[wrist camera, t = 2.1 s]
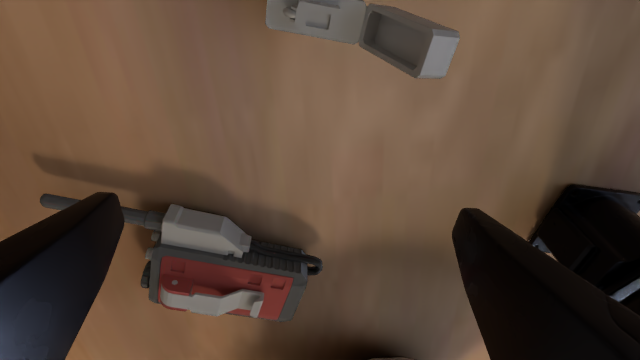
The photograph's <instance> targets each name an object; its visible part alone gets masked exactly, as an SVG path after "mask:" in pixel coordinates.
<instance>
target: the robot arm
mask: <svg viewBox="0 0 640 360" xmlns="http://www.w3.org/2000/svg"><path fill="white" fill-rule="evenodd" d="M639 211H640V193H636V192H629V191H621V190H613V189H606V188H598V187H590V186H583V185H570V186H568V187H567V188H566V189H565V190H564V192H563V193H562V195H561V196H560V198H559V199H558V201H557V202H556V203H555V205H554V206H553V208H552V209H551V211H550V212H549V214H548V215H547V216H546V218H545V219H544V221H543V222H542V224H541V225H540V227H539V228H538V229H537V231H536V232H535V234H534V235H533V237H532V238H531V240H530V241H529V242H528V241H526V240H525V239H523V238H522V237H520V236H519V235H517V234H516V233H514V232H513V231H511V230H510V229H508V228H507V227H505V226H504V225H502V224H501V223H499V222H498V221H496V220H495V219H493V218H492V217H490V216H489V215H487V214H486V213H484V212H483V211H481V210H480V209H477V208H463V209H462V210H461V211H460V213H459V215H458V218H457V220H456V223H455V225H454V228H453V231H452V239H453V244H454V248H455V252H456V256H457V260H458V264H459V268H460V272H461V276H462V280H463V284H464V288H465V291H466V294H467V297H468V299H469V302H470V305H471V307H472V310H473V313H474V316H475V318H476V321H477V324H478V326H479V329H480V332H481V335H482V337H483V340H484V343H485V345H486V348H487V351H488V354H489V356H490V359H491V360H640V217H639V216H638V215H637V213H638V212H639ZM124 222H125V220H124V215H123V212H122V208H121V205H120V202H119V199H118V196H117V195H116V194H115V193H110V192H97V193H95V194H93V195H91V196H89V197H87V198H85V199H83V200H81V201H79V202H77V203H75V204H73V205H71V206H69V207H67V208H65V209H63V210H61V211H59V212H57V213H56V214H54V215H52V216H50V217H48V218H46V219H44V220H42V221H40V222H38V223H36V224H34V225H32V226H30V227H28V228H26V229H24V230H22V231H20V232H18V233H16V234H14V235H12V236H10V237H8V238H7V239H5V240H3V241H1V242H0V360H65V358H66V356H67V354H68V352H69V350H70V348H71V346H72V344H73V342H74V340H75V338H76V336H77V334H78V332H79V330H80V328H81V326H82V324H83V322H84V320H85V318H86V316H87V314H88V312H89V310H90V308H91V306H92V304H93V302H94V300H95V298H96V296H97V294H98V292H99V290H100V288H101V286H102V284H103V281H104V279H105V277H106V274H107V272H108V269H109V266H110V264H111V261H112V258H113V255H114V253H115V250H116V247H117V244H118V241H119V239H120V236H121V233H122V230H123V227H124ZM544 252H546V253H552V255H553V256H554V257H555V258H556V260H557V261H556V260H555V259H553V258H552V257H550V256H549V255H547V254H546V253H544Z"/></svg>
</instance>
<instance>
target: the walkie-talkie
mask: <svg viewBox="0 0 640 360" xmlns="http://www.w3.org/2000/svg"><path fill="white" fill-rule="evenodd" d="M79 201H81V200H77V199H72V198H67V197H61V196H56V195H51V194H43V195H42V196H41V198H40V203H41V204H42V206H44V207H46V208H52V209H57V210H63V209H65V208H67V207H69V206H71V205H73V204H75V203H77V202H79ZM121 208H122V212H123V215H124V220H125V222H126V223H131V224H136V225H142V226H144V227H145V228H146V229H151V230H154V231H153V234H152V237H151V240H152V241H156V244H155V246H154V248H148V249H147V252H146V256H145V259H150V260H151V261H149V262H148V263H147V264H146V266H145V269H144V271H143V275H142V279H141V286H142V288H148V287H149V300H151V301H152V302H154V303H157V304H162V305H163V306H164V307H165V308H168V309H171V310H179V311H187V309H188V310H191V312H192V313H199V314H205V315H212V316H219V315H221V314H224V313H226V314H233V315H239V316H246V317H253V318H259V319H266V320H272V321H279V322H284V321H291V320H292V318H293V316H294V313H295V311H296V309H297V307H298V304H299V302H300V300H301V298H302V295H303V293H304V291H305V288H306V285H307V275H317V274H319V273H320V272H321V271H322V268H323V266H322V261H321V260H320V259H319V258H317V257H315V256H311V255H306V254H305V253H304V252H303V251H302V249H296V248H290V247H285V246H280V245H276V244H270V243H265V242H259V241H255V240H251V237H252V236H249V235H247V234H246V233H245V232H244V231H242V230H241V229H240V228H239V227H238V226H237V225H235V224H234V223H233V222H232V221H231V220H230V219H228V218H227V217H225V216H220V215H215V214H210V213H205V212H200V211H196V210H191V209H186V208H183V207H182V206H179V205H174V204H171V205H170V207H169V209H168V211H167V213H162V212H157V211H151V210H150V211H148V212H147V211H142V210H137V209H132V208H127V207H122V206H121ZM307 263H308V264H313V265H315V267H308V266H307Z"/></svg>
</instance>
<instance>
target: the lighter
mask: <svg viewBox="0 0 640 360" xmlns="http://www.w3.org/2000/svg"><path fill="white" fill-rule="evenodd" d="M265 24H266V25H267V26H268V28H270V29H275V30H280V31H286V32H291V33H296V34H302V35H307V36H312V37H317V38H323V39H328V40H333V41H338V42H344V43H349V44H356V43H357V42H359V45H360V47H362V48H363V49H365V50H367V51H369V52H370V53H372V54H374V55H376V56H377V57H379V58H381V59H383V60H384V61H386V62H388V63H390V64H391V65H393V66H395V67H396V68H398V69H400V70H402V71H403V72H405V73H407V74H409V75H410V76H412V77H414V78H435V79H440V78H442V77H444V76H445V75H446V72H447V70H448V67H449V65H450V62H451V60H452V57H453V54H454V52H455V49H456V47H457V44H458V42H459V39H460V36H459V32H458V31H455V30H453V29H450V28H448V27H445V26H442V25H440V24H437V23H435V22H432V21H429V20H427V19H424V18H422V17H419V16H417V15H414V14H411V13H409V12H406V11H404V10H401V9H398V8H396V7H391V6H384V5H377V4H369V5H368V6H366V4H365V2H364V1H363V0H267V10H266V21H265Z"/></svg>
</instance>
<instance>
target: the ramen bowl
mask: <svg viewBox="0 0 640 360" xmlns="http://www.w3.org/2000/svg"><path fill="white" fill-rule="evenodd" d="M369 360H415V359H410V358H405V357H394V358H373V359H369Z"/></svg>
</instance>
